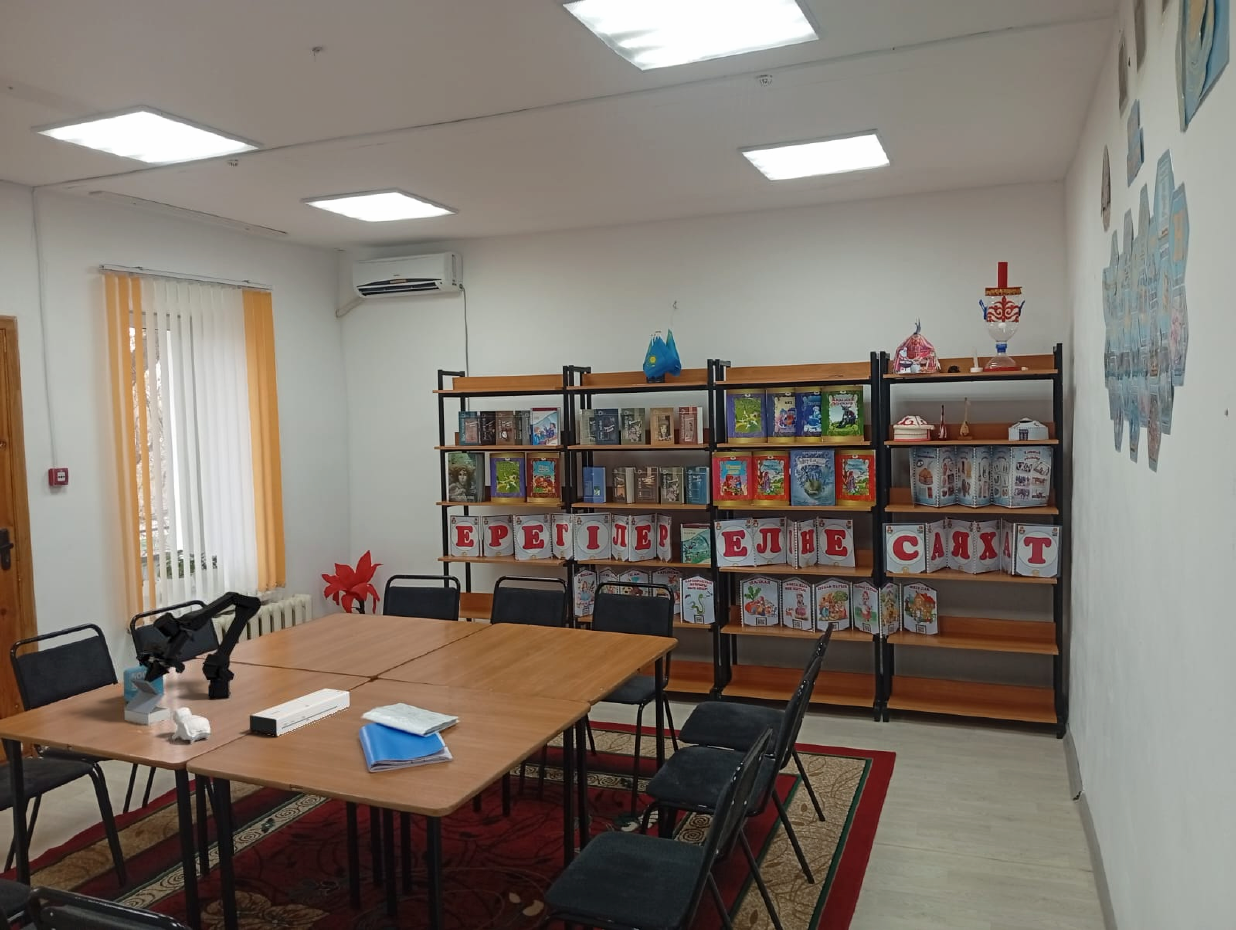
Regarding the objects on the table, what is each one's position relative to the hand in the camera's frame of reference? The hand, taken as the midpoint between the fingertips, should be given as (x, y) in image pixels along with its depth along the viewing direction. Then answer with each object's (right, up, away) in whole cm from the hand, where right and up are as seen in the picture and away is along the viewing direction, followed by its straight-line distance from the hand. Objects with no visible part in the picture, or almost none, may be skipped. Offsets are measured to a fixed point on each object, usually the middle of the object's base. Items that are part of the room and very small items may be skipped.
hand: (144, 684), depth 304 cm
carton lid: (0, -6, 0) cm, 6 cm away
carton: (0, -12, +1) cm, 12 cm away
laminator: (+52, -13, 0) cm, 54 cm away
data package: (-13, -12, +24) cm, 30 cm away
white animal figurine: (+23, -13, -17) cm, 32 cm away
